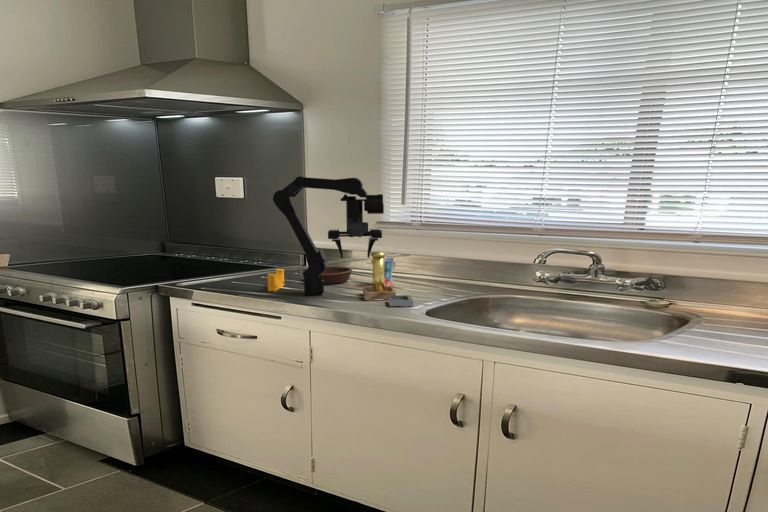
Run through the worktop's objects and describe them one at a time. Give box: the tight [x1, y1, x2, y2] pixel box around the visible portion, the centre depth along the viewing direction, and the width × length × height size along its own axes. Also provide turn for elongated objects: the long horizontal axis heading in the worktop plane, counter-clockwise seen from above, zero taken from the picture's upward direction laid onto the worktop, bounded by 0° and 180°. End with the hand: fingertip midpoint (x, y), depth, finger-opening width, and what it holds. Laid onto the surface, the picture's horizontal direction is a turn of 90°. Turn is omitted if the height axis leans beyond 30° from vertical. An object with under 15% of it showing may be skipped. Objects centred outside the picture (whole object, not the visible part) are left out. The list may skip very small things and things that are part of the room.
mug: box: [370, 256, 396, 287], centre depth 198 cm, size 12×9×11 cm
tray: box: [362, 285, 397, 301], centre depth 180 cm, size 10×10×3 cm
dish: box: [320, 266, 353, 285], centre depth 207 cm, size 18×22×5 cm
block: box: [386, 294, 414, 307], centre depth 169 cm, size 8×8×2 cm
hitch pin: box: [370, 251, 387, 292], centre depth 178 cm, size 5×5×15 cm
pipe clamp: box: [267, 268, 285, 292], centre depth 194 cm, size 12×4×6 cm, turn 174°
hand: (355, 258), depth 182 cm, fingers open, 9 cm apart
